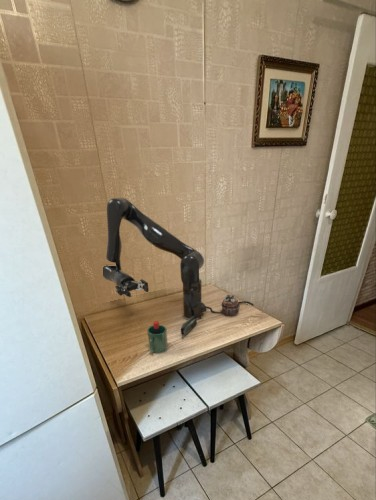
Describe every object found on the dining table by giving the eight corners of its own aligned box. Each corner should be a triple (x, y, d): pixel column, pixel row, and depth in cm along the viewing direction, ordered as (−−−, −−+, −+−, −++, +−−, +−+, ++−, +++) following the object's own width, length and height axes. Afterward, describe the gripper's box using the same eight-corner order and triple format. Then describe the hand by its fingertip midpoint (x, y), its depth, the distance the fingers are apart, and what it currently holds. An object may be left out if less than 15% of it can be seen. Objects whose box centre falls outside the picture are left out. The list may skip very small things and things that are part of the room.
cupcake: (239, 318, 144) (240, 300, 139) (220, 316, 146) (221, 299, 140) (239, 309, 152) (240, 292, 146) (221, 308, 153) (222, 291, 148)
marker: (161, 345, 124) (158, 321, 117) (160, 348, 122) (158, 323, 115) (156, 345, 124) (153, 321, 117) (155, 348, 122) (153, 323, 115)
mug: (154, 341, 128) (152, 323, 123) (170, 344, 126) (169, 326, 120) (143, 354, 119) (140, 336, 114) (160, 358, 117) (158, 340, 112)
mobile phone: (192, 314, 139) (178, 328, 127) (197, 315, 137) (184, 329, 126) (192, 323, 141) (178, 337, 130) (197, 324, 140) (184, 339, 129)
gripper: (108, 277, 130) (122, 288, 118) (136, 270, 136) (152, 280, 125) (111, 292, 134) (125, 304, 123) (138, 284, 140) (153, 296, 129)
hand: (138, 292), depth 124 cm, fingers open, 8 cm apart
